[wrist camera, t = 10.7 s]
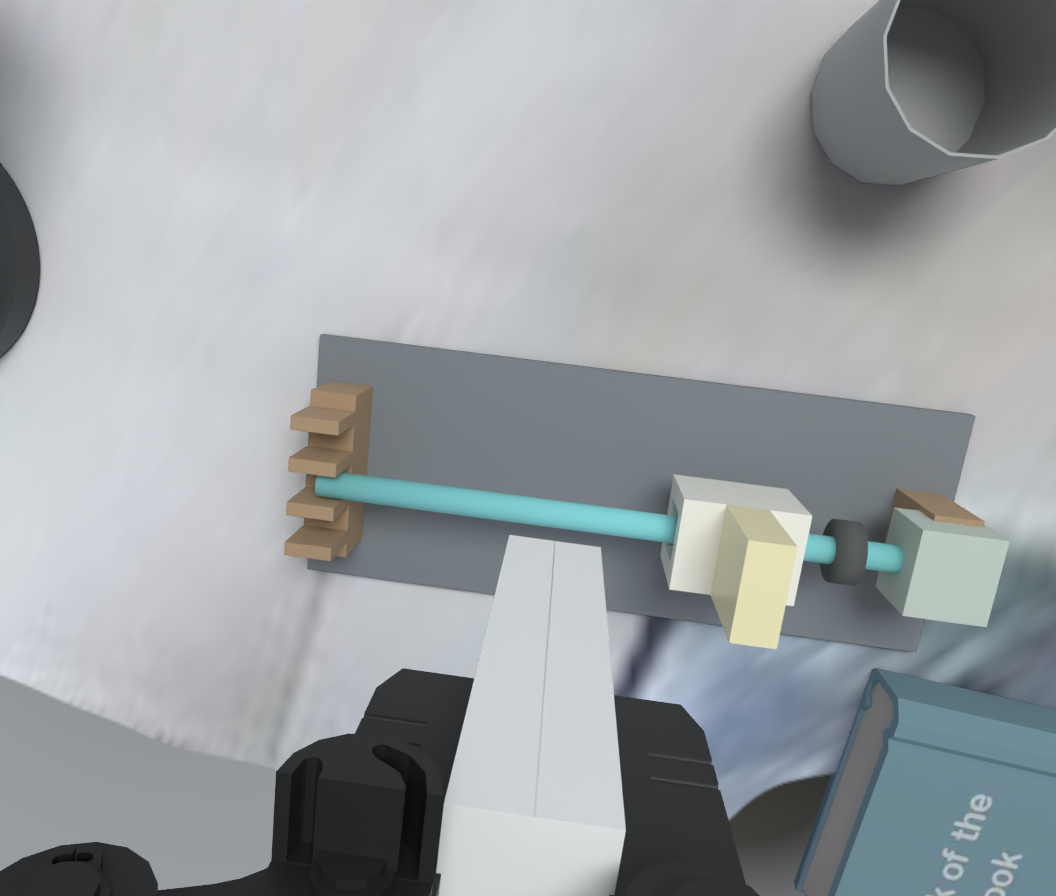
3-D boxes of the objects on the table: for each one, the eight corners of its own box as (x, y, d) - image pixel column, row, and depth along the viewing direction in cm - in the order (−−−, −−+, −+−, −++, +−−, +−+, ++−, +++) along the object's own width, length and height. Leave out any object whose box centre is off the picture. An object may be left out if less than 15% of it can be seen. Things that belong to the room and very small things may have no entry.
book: (793, 882, 51) (815, 947, 46) (871, 661, 47) (904, 706, 42) (1141, 963, 50) (1200, 1038, 45) (1247, 747, 47) (1325, 803, 42)
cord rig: (310, 565, 48) (261, 618, 40) (323, 334, 44) (272, 346, 37) (912, 647, 46) (972, 717, 39) (970, 414, 43) (1047, 443, 36)
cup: (797, 177, 41) (864, 149, 31) (823, 3, 39) (903, -85, 29) (963, 190, 40) (1083, 165, 31) (998, 15, 39) (1137, -71, 29)
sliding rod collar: (660, 555, 43) (681, 636, 33) (673, 474, 42) (699, 533, 32) (771, 570, 42) (824, 656, 33) (787, 488, 41) (847, 553, 32)
